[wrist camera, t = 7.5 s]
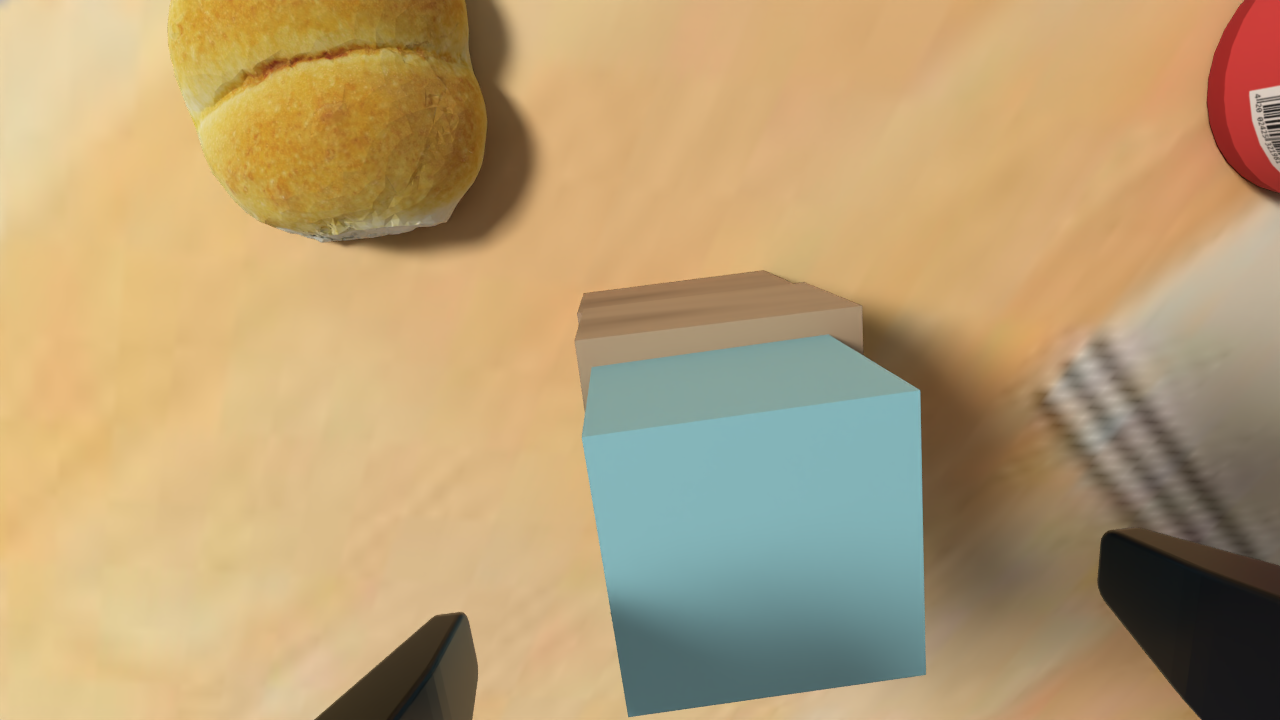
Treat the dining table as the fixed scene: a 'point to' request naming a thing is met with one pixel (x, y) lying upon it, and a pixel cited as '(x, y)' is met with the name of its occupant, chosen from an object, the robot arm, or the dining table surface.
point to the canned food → (1249, 93)
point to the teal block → (757, 521)
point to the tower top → (712, 324)
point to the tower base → (679, 289)
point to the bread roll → (333, 109)
